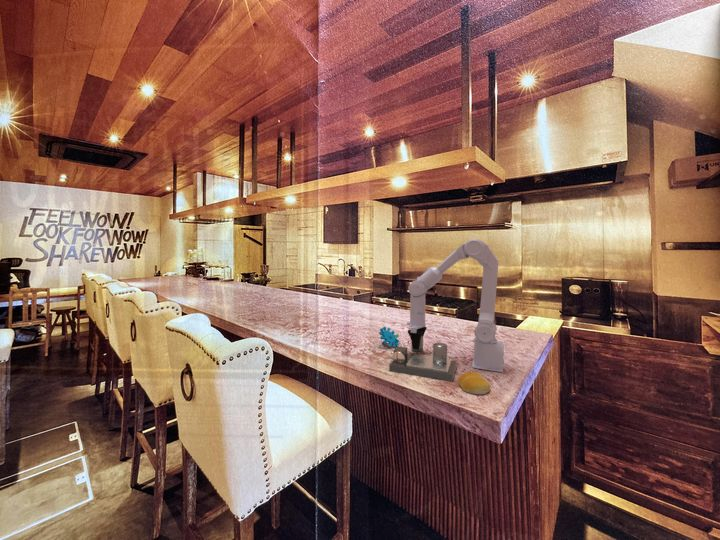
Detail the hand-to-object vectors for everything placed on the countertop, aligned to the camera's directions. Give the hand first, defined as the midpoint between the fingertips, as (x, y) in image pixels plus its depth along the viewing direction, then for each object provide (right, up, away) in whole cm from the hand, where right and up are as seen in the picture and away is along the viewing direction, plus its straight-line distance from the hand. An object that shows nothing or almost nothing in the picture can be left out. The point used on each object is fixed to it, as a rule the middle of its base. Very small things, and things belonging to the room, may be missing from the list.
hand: (417, 347), depth 111 cm
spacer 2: (+4, -1, -16) cm, 17 cm away
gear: (-9, -3, +11) cm, 15 cm away
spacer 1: (0, -2, 0) cm, 2 cm away
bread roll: (+11, -5, -27) cm, 30 cm away
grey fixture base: (-1, -4, -14) cm, 14 cm away
